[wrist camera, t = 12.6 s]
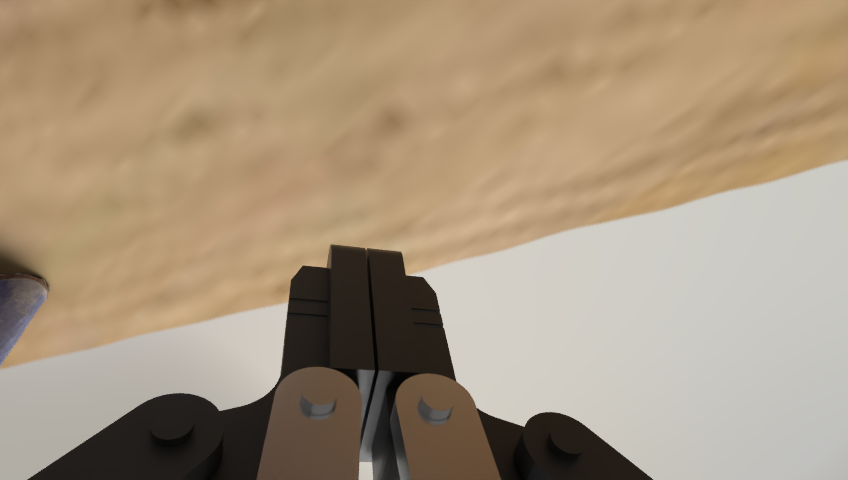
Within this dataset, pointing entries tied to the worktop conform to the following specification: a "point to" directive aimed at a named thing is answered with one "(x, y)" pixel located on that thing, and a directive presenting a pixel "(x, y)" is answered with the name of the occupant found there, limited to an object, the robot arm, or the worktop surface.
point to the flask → (18, 307)
